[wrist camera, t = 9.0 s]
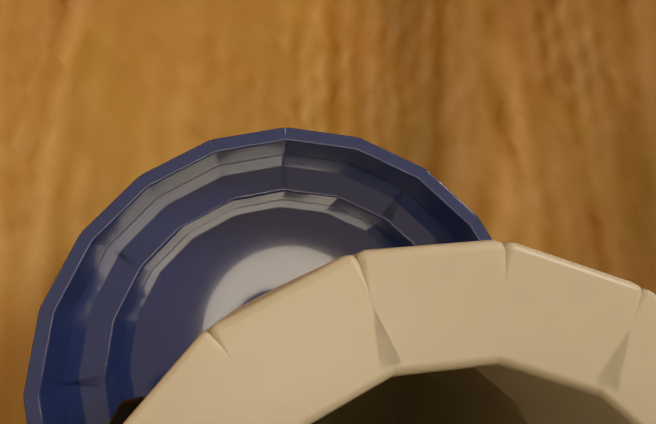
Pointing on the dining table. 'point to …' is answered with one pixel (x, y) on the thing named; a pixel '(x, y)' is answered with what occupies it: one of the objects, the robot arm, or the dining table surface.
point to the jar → (424, 345)
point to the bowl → (217, 255)
